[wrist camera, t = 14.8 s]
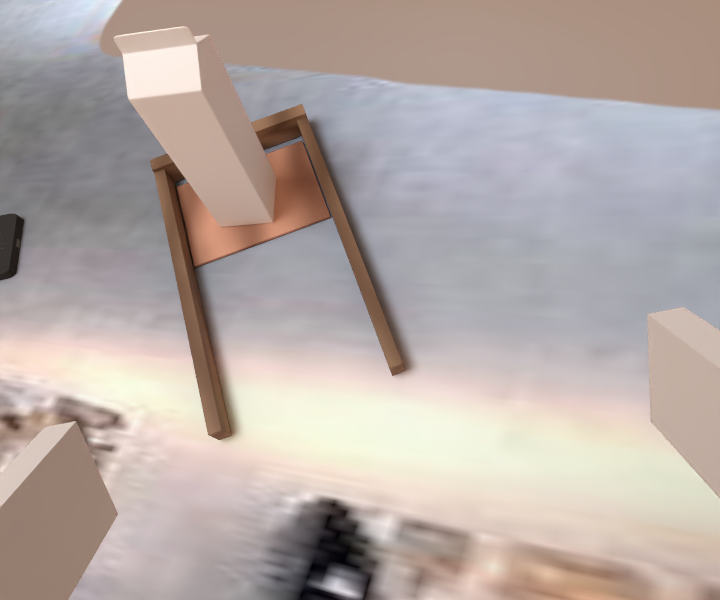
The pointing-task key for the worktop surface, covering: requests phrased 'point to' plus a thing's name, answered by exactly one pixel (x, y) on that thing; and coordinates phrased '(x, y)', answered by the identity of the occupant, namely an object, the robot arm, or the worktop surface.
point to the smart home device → (9, 244)
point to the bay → (255, 240)
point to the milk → (200, 122)
